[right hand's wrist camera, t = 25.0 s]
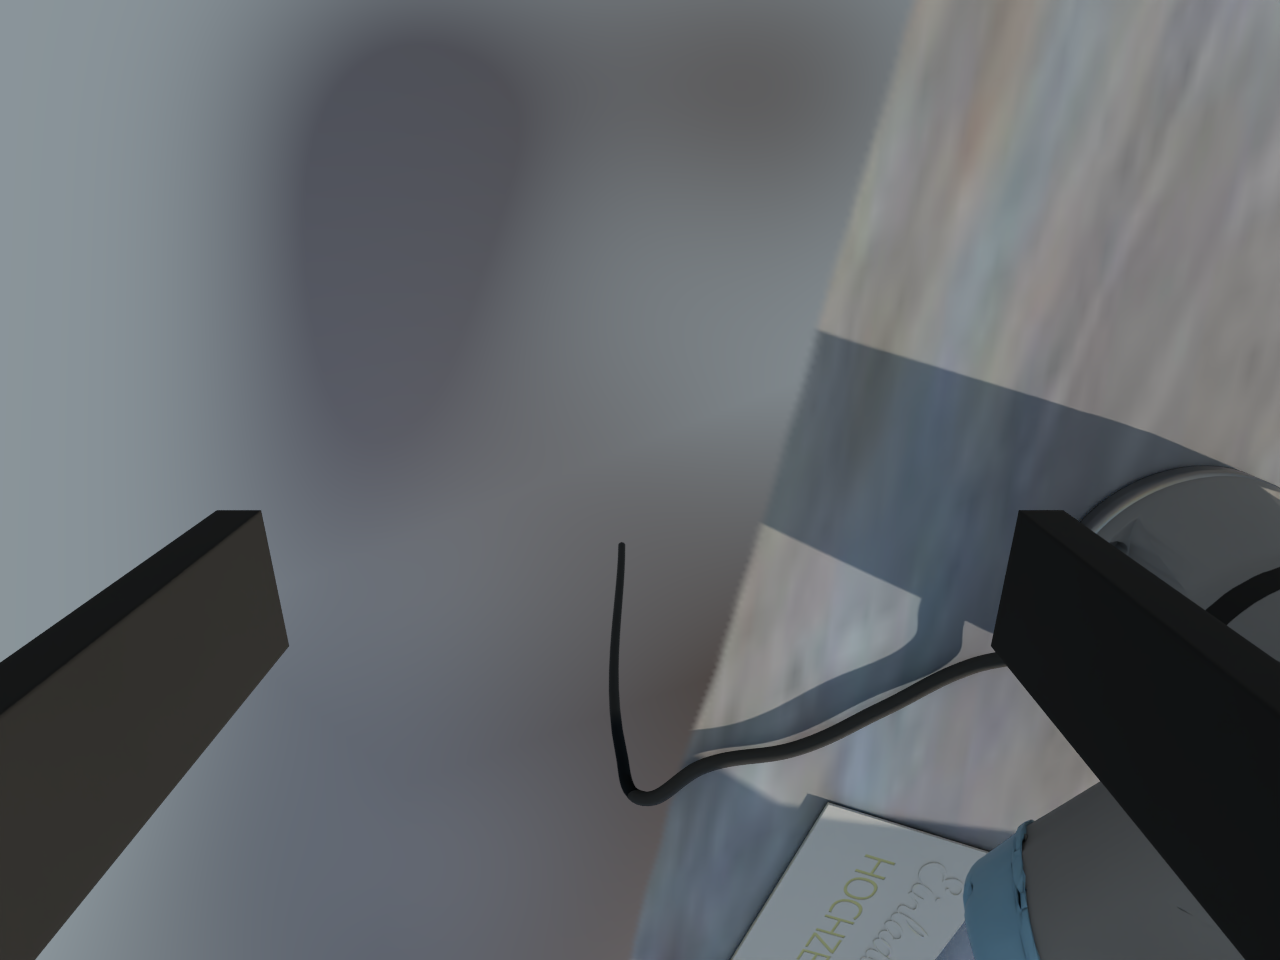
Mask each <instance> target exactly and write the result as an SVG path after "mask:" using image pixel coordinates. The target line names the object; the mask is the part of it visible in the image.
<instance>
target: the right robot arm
mask: <svg viewBox="0 0 1280 960" xmlns="http://www.w3.org/2000/svg"><path fill="white" fill-rule="evenodd" d="M624 573H625V543H623V542H620V543H619V544H618V563H617V577H616V588H615V598H614V609H613V619H612V630H611V643H610V660H609V709H610V720H611V731H612V737H613V743H614V749H615V755H616V761H617V768H618V776H619V781H620V785H621V788H622V790H623V792H624V794H625V795H626V796H627V798H628V799H629V800H631V801H632V802H633V803H635V804H637V805H642V806H653V805H657V804H660V803H662V802H664V801H666V800H667V799H669V798H670V797H672V796H673V795H674V794H676V793H677V792H678V791H679V790H681V789H682V788H683V787H684V786H686V785H687V784H688V783H690V782H691V781H692V780H694V779H695V778H697V777H699V776H701V775H703V774H705V773H708V772H711V771H714V770H718V769H722V768H726V767H731V766H738V765H746V764H755V763H764V762H772V761H778V760H783V759H788V758H792V757H796V756H799V755H802V754H805V753H808V752H811V751H814V750H817V749H819V748H822V747H824V746H826V745H829V744H831V743H833V742H835V741H837V740H840V739H842V738H844V737H846V736H848V735H850V734H851V733H853V732H855V731H857V730H859V729H861V728H863V727H865V726H867V725H869V724H871V723H873V722H875V721H877V720H879V719H881V718H883V717H885V716H887V715H889V714H891V713H894V712H896V711H898V710H900V709H902V708H903V707H905V706H907V705H909V704H911V703H913V702H915V701H917V700H918V699H920V698H922V697H924V696H926V695H928V694H930V693H931V692H933V691H935V690H937V689H939V688H941V687H943V686H945V685H947V684H950V683H952V682H954V681H956V680H959V679H961V678H964V677H966V676H969V675H972V674H975V673H978V672H981V671H985V670H989V669H994V668H1000V667H1006V666H1008V668H1009V669H1010V670H1011V671H1012V673H1013V674H1014V675H1015V676H1016V678H1017V679H1018V680H1019V681H1020V683H1021V684H1022V685H1023V686H1024V687H1025V689H1026V690H1027V691H1028V692H1029V694H1030V695H1031V696H1032V697H1033V699H1034V700H1035V701H1036V702H1037V704H1038V705H1039V706H1040V707H1041V708H1042V710H1043V711H1044V712H1045V713H1046V715H1047V716H1048V717H1049V718H1050V720H1051V721H1052V722H1053V723H1054V724H1055V726H1056V727H1057V728H1058V729H1059V731H1060V732H1061V733H1062V734H1063V736H1064V737H1065V738H1066V739H1067V741H1068V742H1069V743H1070V744H1071V745H1072V747H1073V748H1074V749H1075V750H1076V752H1077V753H1078V754H1079V755H1080V757H1081V758H1082V759H1083V760H1084V762H1085V763H1086V764H1087V765H1088V766H1089V768H1090V769H1091V770H1092V771H1093V773H1094V774H1095V775H1096V776H1097V778H1098V779H1099V780H1100V782H1099V783H1097V784H1095V785H1094V786H1092V787H1090V788H1089V789H1087V790H1086V791H1084V792H1082V793H1081V794H1079V795H1077V796H1076V797H1074V798H1072V799H1071V800H1069V801H1068V802H1066V803H1064V804H1063V805H1061V806H1059V807H1058V808H1056V809H1054V810H1053V811H1051V812H1050V813H1048V814H1046V815H1045V816H1043V817H1041V818H1039V819H1038V820H1036V821H1033V820H1029V821H1026V822H1024V823H1023V824H1021V825H1020V826H1019V827H1018V829H1017V831H1016V833H1015V834H1014V835H1012V836H1011V837H1010V838H1008V839H1007V840H1005V841H1004V842H1003V843H1001V844H1000V845H998V846H997V847H996V848H994V849H993V850H991V851H990V852H989V853H987V854H986V855H985V856H983V857H982V858H980V859H979V860H977V861H976V862H975V863H974V865H973V866H972V867H971V869H970V870H969V872H968V874H967V876H966V880H965V883H964V892H963V903H964V910H965V914H964V917H965V923H966V928H967V933H968V937H969V940H970V944H971V948H972V951H973V954H974V958H975V960H1280V488H1279V487H1277V486H1276V485H1273V484H1271V483H1269V482H1266V481H1264V480H1262V479H1259V478H1257V477H1255V476H1252V475H1250V474H1247V473H1245V472H1242V471H1238V470H1235V469H1231V468H1225V467H1219V466H1191V467H1182V468H1177V469H1172V470H1167V471H1164V472H1160V473H1157V474H1154V475H1151V476H1149V477H1146V478H1143V479H1141V480H1139V481H1137V482H1134V483H1132V484H1130V485H1128V486H1127V487H1125V488H1123V489H1121V490H1119V491H1118V492H1116V493H1115V494H1113V495H1112V496H1110V497H1109V498H1107V499H1106V500H1104V501H1103V502H1102V503H1101V504H1099V505H1098V506H1097V507H1096V508H1094V509H1093V510H1092V511H1091V512H1090V513H1089V514H1088V515H1087V516H1086V517H1085V518H1084V519H1083V520H1082V521H1081V522H1079V521H1078V520H1076V519H1075V518H1073V517H1072V516H1070V515H1069V514H1068V513H1066V512H1065V511H1063V510H1019V513H1018V518H1017V522H1016V527H1015V532H1014V537H1013V542H1012V547H1011V551H1010V556H1009V561H1008V566H1007V571H1006V576H1005V580H1004V585H1003V590H1002V595H1001V600H1000V605H999V610H998V614H997V619H996V624H995V629H994V634H993V639H992V643H991V647H992V648H993V649H994V650H995V653H990V654H985V655H981V656H977V657H973V658H970V659H967V660H965V661H962V662H959V663H957V664H954V665H952V666H949V667H947V668H945V669H942V670H940V671H938V672H936V673H934V674H932V675H930V676H928V677H926V678H924V679H922V680H920V681H919V682H917V683H915V684H913V685H911V686H910V687H908V688H906V689H904V690H902V691H900V692H898V693H897V694H895V695H893V696H891V697H889V698H887V699H885V700H883V701H881V702H879V703H876V704H874V705H872V706H870V707H868V708H866V709H864V710H862V711H860V712H858V713H857V714H855V715H853V716H851V717H849V718H847V719H845V720H843V721H841V722H839V723H837V724H835V725H833V726H831V727H829V728H827V729H825V730H823V731H820V732H818V733H816V734H813V735H811V736H808V737H805V738H803V739H800V740H797V741H793V742H790V743H786V744H782V745H777V746H771V747H764V748H756V749H746V750H738V751H731V752H725V753H720V754H716V755H712V756H709V757H706V758H703V759H701V760H698V761H696V762H694V763H692V764H690V765H689V766H687V767H685V768H684V769H683V770H681V771H680V772H678V773H677V774H676V775H675V776H673V777H672V778H671V779H670V780H668V781H667V782H666V783H665V784H663V785H662V786H660V787H659V788H657V789H655V790H653V791H649V792H645V791H641V790H639V789H637V788H636V787H635V785H634V783H633V780H632V776H631V772H630V766H629V759H628V754H627V749H626V744H625V738H624V733H623V727H622V719H621V711H620V697H619V645H620V628H621V614H622V602H623V588H624ZM288 647H289V644H288V639H287V634H286V629H285V624H284V619H283V614H282V610H281V605H280V600H279V595H278V590H277V585H276V581H275V576H274V571H273V566H272V561H271V556H270V551H269V547H268V542H267V537H266V532H265V527H264V522H263V518H262V513H261V510H217V511H215V512H214V513H212V514H211V515H210V516H208V517H207V518H205V519H204V520H202V521H201V522H200V523H198V524H197V525H195V526H194V527H192V528H191V529H190V530H188V531H187V532H185V533H184V534H183V535H181V536H180V537H178V538H177V539H175V540H174V541H173V542H171V543H170V544H168V545H167V546H166V547H164V548H163V549H161V550H160V551H158V552H157V553H156V554H154V555H153V556H151V557H150V558H148V559H147V560H146V561H144V562H143V563H141V564H140V565H138V566H137V567H136V568H134V569H133V570H131V571H130V572H129V573H127V574H126V575H124V576H123V577H121V578H120V579H119V580H117V581H116V582H114V583H113V584H111V585H110V586H109V587H107V588H106V589H104V590H103V591H101V592H100V593H99V594H97V595H96V596H94V597H93V598H92V599H90V600H89V601H87V602H86V603H84V604H83V605H82V606H80V607H79V608H77V609H76V610H74V611H73V612H72V613H70V614H69V615H67V616H66V617H65V618H63V619H62V620H60V621H59V622H57V623H56V624H55V625H53V626H52V627H50V628H49V629H48V630H46V631H45V632H43V633H42V634H40V635H39V636H37V637H36V638H35V639H33V640H32V641H30V642H29V643H28V644H26V645H25V646H23V647H22V648H20V649H19V650H18V651H16V652H15V653H13V654H12V655H10V656H9V657H8V658H6V659H5V660H3V661H2V662H0V960H35V959H36V958H37V956H38V955H39V954H40V953H41V952H42V950H43V949H44V948H45V947H46V945H47V944H48V943H49V942H50V941H51V939H52V938H53V937H54V936H55V934H56V933H57V932H58V931H59V929H60V928H61V927H62V926H63V924H64V923H65V922H66V921H67V919H68V918H69V917H70V916H71V915H72V913H73V912H74V911H75V910H76V908H77V907H78V906H79V905H80V903H81V902H82V901H83V900H84V899H85V897H86V896H87V895H88V894H89V892H90V891H91V890H92V889H93V887H94V886H95V885H96V884H97V882H98V881H99V880H100V879H101V878H102V876H103V875H104V874H105V873H106V871H107V870H108V869H109V868H110V866H111V865H112V864H113V863H114V861H115V860H116V859H117V858H118V857H119V855H120V854H121V853H122V852H123V850H124V849H125V848H126V847H127V845H128V844H129V843H130V842H131V841H132V839H133V838H134V837H135V836H136V834H137V833H138V832H139V831H140V829H141V828H142V827H143V826H144V824H145V823H146V822H147V821H148V819H149V818H150V817H151V816H152V815H153V813H154V812H155V811H156V810H157V808H158V807H159V806H160V805H161V803H162V802H163V801H164V800H165V798H166V797H167V796H168V795H169V794H170V792H171V791H172V790H173V789H174V787H175V786H176V785H177V784H178V782H179V781H180V780H181V779H182V777H183V776H184V775H185V774H186V773H187V771H188V770H189V769H190V768H191V766H192V765H193V764H194V763H195V762H196V760H197V759H198V758H199V757H200V755H201V754H202V753H203V752H204V750H205V749H206V748H207V747H208V745H209V744H210V743H211V742H212V741H213V739H214V738H215V737H216V736H217V734H218V733H219V732H220V731H221V729H222V728H223V727H224V726H225V724H226V723H227V722H228V721H229V720H230V718H231V717H232V716H233V715H234V713H235V712H236V711H237V710H238V708H239V707H240V706H241V705H242V703H243V702H244V701H245V700H246V699H247V697H248V696H249V695H250V694H251V692H252V691H253V690H254V689H255V687H256V686H257V685H258V684H259V683H260V681H261V680H262V679H263V678H264V676H265V675H266V674H267V673H268V671H269V670H270V669H271V668H272V666H273V665H274V664H275V663H276V662H277V660H278V659H279V658H280V657H281V655H282V654H283V653H284V652H285V650H286V649H287V648H288Z"/></svg>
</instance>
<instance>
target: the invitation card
mask: <svg viewBox="0 0 1280 960" xmlns="http://www.w3.org/2000/svg"><path fill="white" fill-rule="evenodd" d="M987 853H989V852H988V851H984V850H981V849H978V848H975V847H972V846H968V845H965V844H962V843H959V842H955V841H952V840H949V839H946V838H942V837H939V836H936V835H933V834H929V833H926V832H923V831H920V830H916V829H913V828H910V827H907V826H903V825H900V824H897V823H894V822H890V821H887V820H884V819H881V818H877V817H874V816H871V815H868V814H865V813H861V812H858V811H855V810H852V809H848V808H845V807H842V806H839V805H835V804H832V803H829V802H828V803H827V804H826V806H825V808H824V809H823V811H822V812H821V814H820V816H819V817H818V819H817V821H816V822H815V824H814V825H813V827H812V829H811V830H810V832H809V834H808V835H807V837H806V838H805V840H804V842H803V843H802V845H801V846H800V848H799V850H798V851H797V853H796V855H795V856H794V858H793V859H792V861H791V863H790V864H789V866H788V867H787V869H786V871H785V872H784V874H783V876H782V877H781V879H780V880H779V882H778V884H777V885H776V887H775V889H774V890H773V892H772V893H771V895H770V897H769V898H768V900H767V901H766V903H765V905H764V906H763V908H762V910H761V911H760V913H759V914H758V916H757V918H756V919H755V921H754V922H753V924H752V926H751V927H750V929H749V931H748V932H747V934H746V935H745V937H744V939H743V940H742V942H741V944H740V945H739V947H738V948H737V950H736V952H735V953H734V955H733V956H732V958H731V960H935V959H936V958H937V957H938V955H939V954H940V953H941V951H942V950H943V949H944V947H945V946H946V945H947V944H948V942H949V941H950V940H951V938H952V937H953V936H954V934H955V933H956V932H957V931H958V929H959V928H960V927H961V925H962V924H963V923H964V921H965V917H964V914H965V910H964V903H963V892H964V883H965V880H966V876H967V874H968V872H969V870H970V869H971V867H972V866H973V865H974V863H975V862H976V861H977V860H979V859H980V858H982V857H983V856H985V855H986V854H987Z"/></svg>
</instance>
